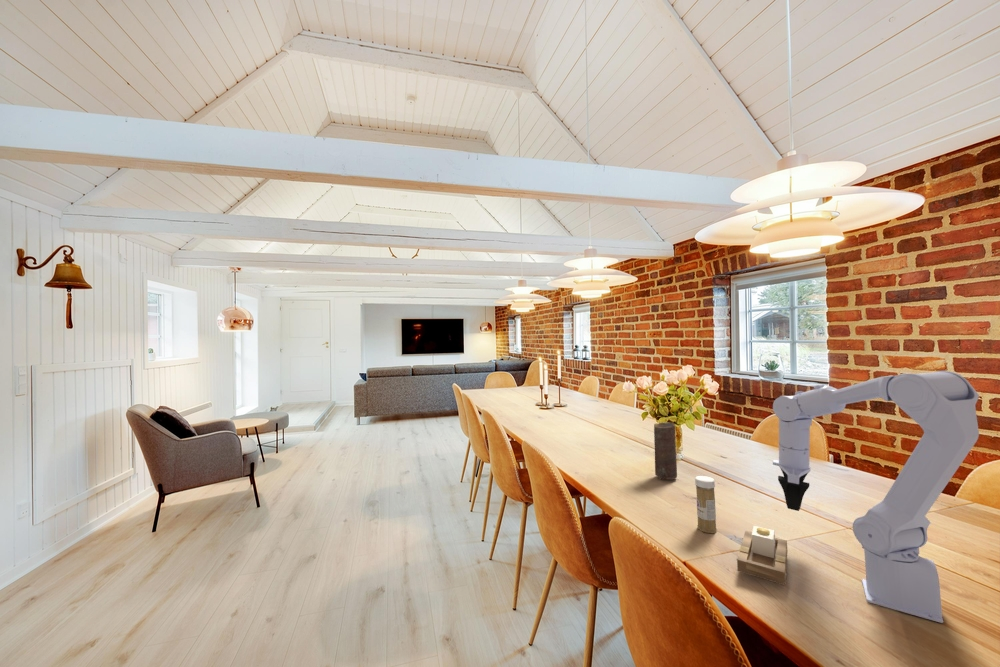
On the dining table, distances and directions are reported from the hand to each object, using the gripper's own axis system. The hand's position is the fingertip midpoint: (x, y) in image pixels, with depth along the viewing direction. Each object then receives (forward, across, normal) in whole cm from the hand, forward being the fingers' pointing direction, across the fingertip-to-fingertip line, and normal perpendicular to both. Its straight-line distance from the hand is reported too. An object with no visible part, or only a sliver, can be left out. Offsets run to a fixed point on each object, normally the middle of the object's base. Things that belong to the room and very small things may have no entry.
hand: (793, 502), depth 89 cm
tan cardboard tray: (+10, +13, -5) cm, 17 cm away
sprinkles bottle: (+12, +2, -18) cm, 21 cm away
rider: (+8, +11, -5) cm, 14 cm away
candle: (+14, -31, -37) cm, 50 cm away
